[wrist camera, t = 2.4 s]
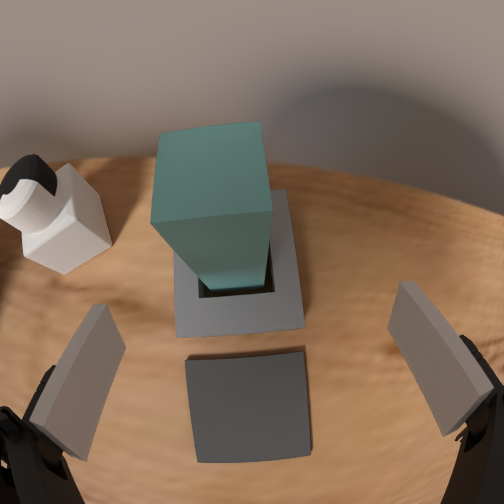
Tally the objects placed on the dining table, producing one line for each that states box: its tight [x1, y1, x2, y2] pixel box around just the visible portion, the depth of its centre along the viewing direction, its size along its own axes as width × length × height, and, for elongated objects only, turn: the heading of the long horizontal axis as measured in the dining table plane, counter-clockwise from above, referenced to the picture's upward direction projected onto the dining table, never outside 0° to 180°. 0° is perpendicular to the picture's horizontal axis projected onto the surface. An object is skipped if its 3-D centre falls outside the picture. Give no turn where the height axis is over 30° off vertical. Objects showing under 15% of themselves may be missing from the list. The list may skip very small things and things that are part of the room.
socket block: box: [174, 189, 305, 338], centre depth 23 cm, size 10×12×2 cm
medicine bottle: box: [0, 154, 112, 275], centre depth 20 cm, size 7×7×12 cm
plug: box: [150, 122, 273, 293], centre depth 17 cm, size 4×4×15 cm
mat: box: [185, 351, 311, 463], centre depth 20 cm, size 10×10×1 cm
